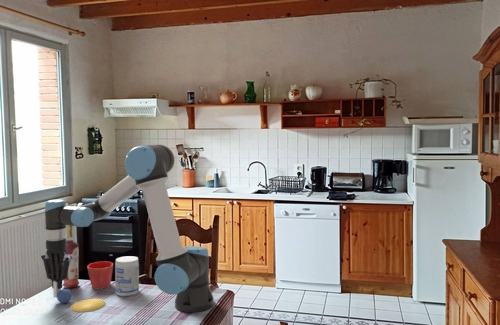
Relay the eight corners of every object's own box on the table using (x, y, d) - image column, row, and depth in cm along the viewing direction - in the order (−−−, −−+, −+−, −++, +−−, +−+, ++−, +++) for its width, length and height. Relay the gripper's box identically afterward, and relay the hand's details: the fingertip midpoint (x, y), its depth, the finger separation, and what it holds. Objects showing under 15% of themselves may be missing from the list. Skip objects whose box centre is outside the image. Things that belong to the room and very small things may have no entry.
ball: (66, 308, 176) (74, 299, 174) (53, 303, 173) (61, 294, 172) (67, 297, 180) (75, 289, 179) (55, 292, 177) (63, 284, 176)
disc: (107, 308, 170) (107, 307, 170) (71, 314, 165) (71, 314, 164) (103, 297, 182) (103, 296, 182) (69, 302, 176) (69, 302, 176)
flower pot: (106, 291, 189) (105, 268, 188) (83, 289, 191) (82, 267, 191) (118, 282, 199) (117, 261, 199) (96, 281, 202) (95, 260, 201)
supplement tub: (114, 297, 181) (113, 262, 180) (117, 289, 191) (116, 256, 190) (138, 296, 183) (137, 261, 182) (140, 288, 192) (139, 255, 191)
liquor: (72, 290, 190) (70, 226, 188) (58, 288, 192) (56, 225, 190) (83, 284, 197) (81, 223, 195) (70, 283, 199) (67, 222, 197)
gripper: (76, 237, 177) (77, 294, 179) (49, 235, 180) (50, 291, 182) (63, 242, 170) (64, 301, 172) (35, 239, 173) (37, 297, 175)
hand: (57, 296), depth 177 cm, fingers closed
